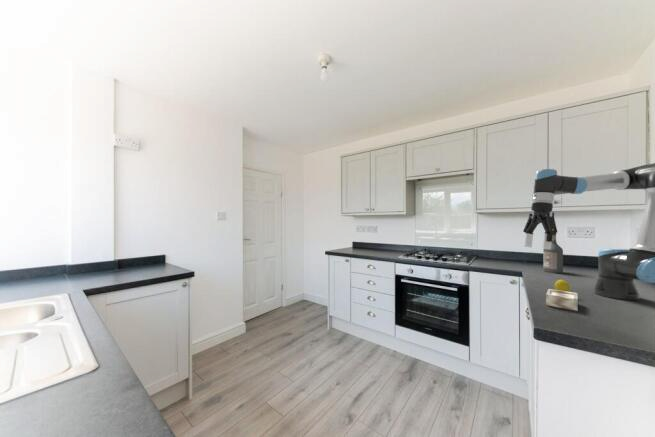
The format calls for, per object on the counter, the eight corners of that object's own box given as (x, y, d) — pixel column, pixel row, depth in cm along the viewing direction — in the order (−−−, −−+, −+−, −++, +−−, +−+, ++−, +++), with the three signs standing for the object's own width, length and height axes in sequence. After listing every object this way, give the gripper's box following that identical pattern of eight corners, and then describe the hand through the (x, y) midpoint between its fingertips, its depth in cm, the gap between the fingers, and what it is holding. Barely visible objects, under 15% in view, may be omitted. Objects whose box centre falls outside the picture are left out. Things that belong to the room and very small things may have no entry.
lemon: (554, 293, 131) (554, 277, 131) (569, 295, 128) (569, 279, 128) (554, 295, 127) (554, 279, 127) (570, 297, 123) (570, 281, 123)
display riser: (577, 303, 115) (577, 293, 115) (577, 310, 106) (577, 299, 106) (548, 298, 122) (548, 288, 122) (546, 305, 113) (546, 294, 113)
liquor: (554, 273, 177) (554, 230, 177) (541, 270, 186) (541, 229, 186) (565, 272, 179) (565, 230, 179) (551, 270, 188) (551, 229, 188)
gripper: (518, 204, 132) (513, 245, 132) (551, 198, 107) (545, 248, 107) (534, 206, 131) (529, 247, 130) (572, 200, 106) (565, 251, 106)
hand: (536, 248), depth 119 cm, fingers open, 13 cm apart
